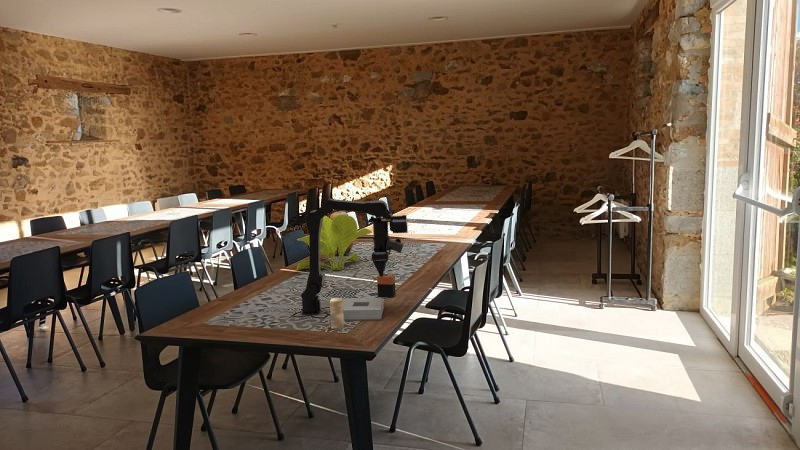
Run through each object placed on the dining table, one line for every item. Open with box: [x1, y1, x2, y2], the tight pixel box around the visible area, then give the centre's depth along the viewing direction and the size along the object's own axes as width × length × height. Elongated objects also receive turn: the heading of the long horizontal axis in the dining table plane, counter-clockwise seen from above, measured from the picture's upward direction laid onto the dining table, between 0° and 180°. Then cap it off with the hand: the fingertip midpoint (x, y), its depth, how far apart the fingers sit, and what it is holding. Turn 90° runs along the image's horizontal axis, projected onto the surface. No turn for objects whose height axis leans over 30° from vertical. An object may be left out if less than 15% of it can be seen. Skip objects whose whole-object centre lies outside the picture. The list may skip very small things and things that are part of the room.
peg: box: [329, 297, 345, 330], centre depth 221 cm, size 4×4×10 cm
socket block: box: [343, 297, 385, 322], centre depth 236 cm, size 16×16×4 cm
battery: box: [376, 272, 397, 298], centre depth 261 cm, size 4×7×10 cm, turn 73°
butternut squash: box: [329, 210, 354, 256], centre depth 355 cm, size 14×13×25 cm
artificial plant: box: [295, 214, 373, 272], centre depth 318 cm, size 42×43×30 cm
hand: (382, 273), depth 238 cm, fingers open, 9 cm apart
